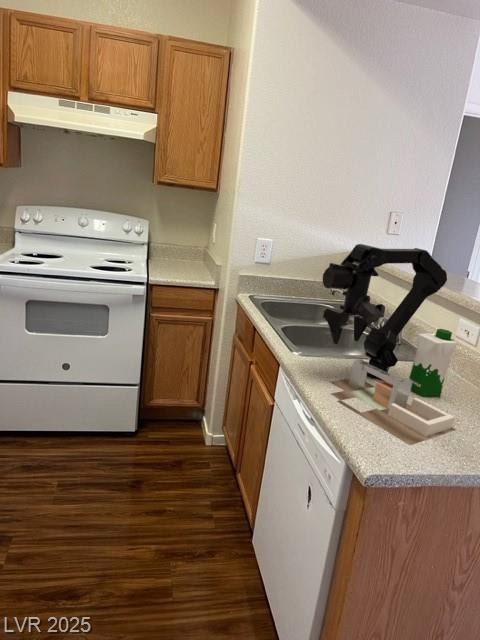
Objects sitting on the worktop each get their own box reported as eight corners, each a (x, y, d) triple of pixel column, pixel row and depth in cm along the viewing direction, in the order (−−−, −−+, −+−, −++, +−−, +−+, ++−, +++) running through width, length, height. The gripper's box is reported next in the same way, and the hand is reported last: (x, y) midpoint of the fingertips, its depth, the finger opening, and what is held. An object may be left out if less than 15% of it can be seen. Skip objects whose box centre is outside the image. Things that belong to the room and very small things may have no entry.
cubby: (413, 408, 127) (416, 397, 126) (451, 428, 118) (454, 417, 118) (387, 414, 120) (390, 404, 120) (425, 436, 112) (428, 425, 111)
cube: (384, 397, 131) (388, 380, 130) (399, 405, 127) (404, 388, 126) (372, 400, 128) (376, 383, 126) (388, 408, 124) (392, 391, 123)
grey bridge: (358, 383, 138) (364, 358, 136) (405, 407, 126) (412, 381, 124) (344, 385, 135) (350, 361, 133) (391, 411, 123) (398, 384, 121)
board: (355, 381, 143) (356, 377, 143) (454, 435, 118) (456, 429, 118) (309, 390, 132) (310, 385, 132) (408, 451, 107) (409, 445, 107)
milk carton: (444, 401, 138) (463, 336, 133) (420, 403, 134) (438, 336, 129) (422, 388, 146) (439, 326, 140) (399, 389, 142) (415, 325, 137)
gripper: (359, 299, 123) (347, 356, 127) (400, 296, 134) (388, 348, 139) (327, 288, 131) (316, 341, 135) (368, 286, 143) (357, 336, 147)
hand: (345, 342), depth 139 cm, fingers open, 9 cm apart
